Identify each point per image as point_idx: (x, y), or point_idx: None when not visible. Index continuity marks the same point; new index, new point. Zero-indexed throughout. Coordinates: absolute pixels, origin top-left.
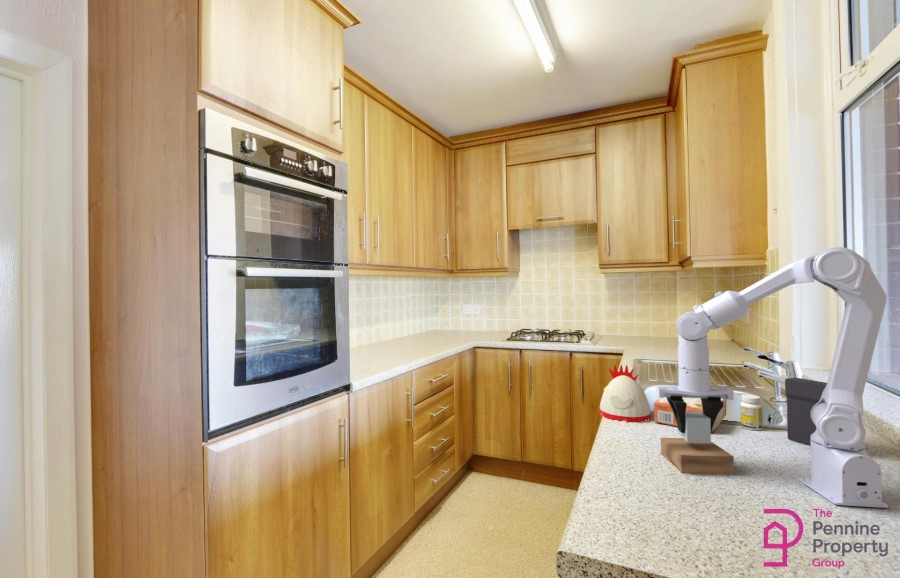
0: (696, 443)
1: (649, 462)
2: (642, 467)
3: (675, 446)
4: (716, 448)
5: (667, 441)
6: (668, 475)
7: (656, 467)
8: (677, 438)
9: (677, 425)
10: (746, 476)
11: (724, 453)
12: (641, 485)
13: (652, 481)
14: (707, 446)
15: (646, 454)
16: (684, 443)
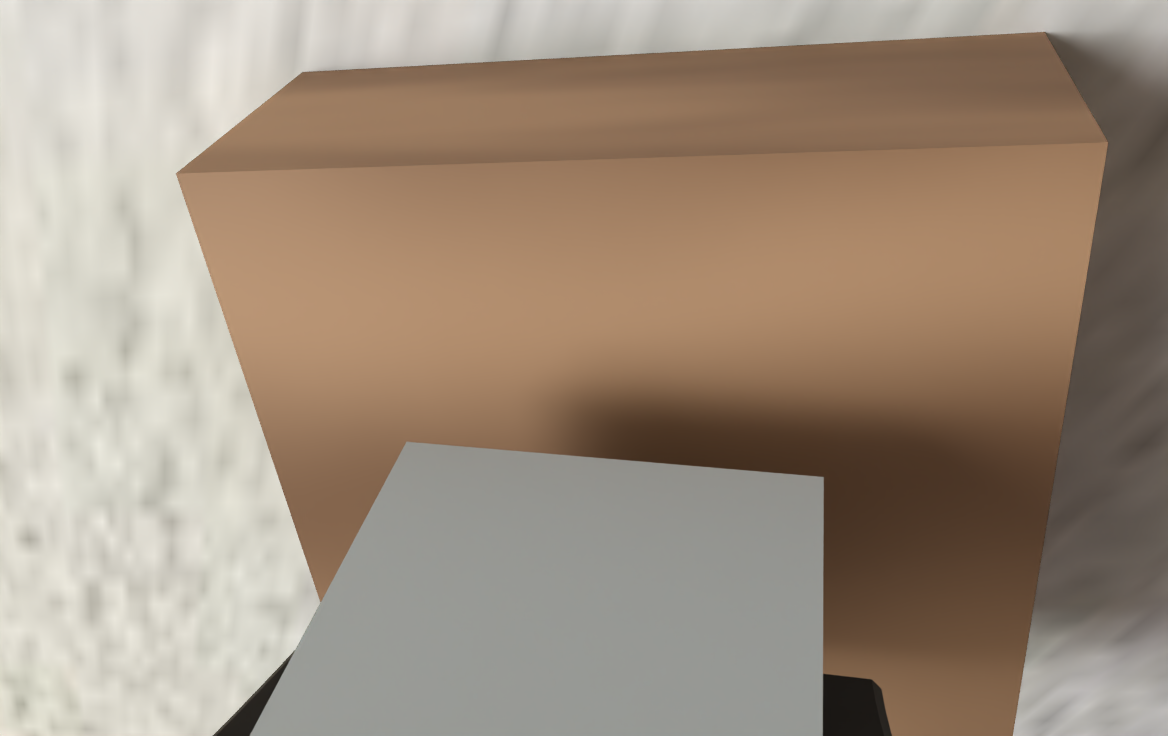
0: (722, 408)
1: (148, 357)
2: (84, 471)
3: (354, 516)
4: (946, 581)
5: (269, 342)
6: (305, 612)
7: (214, 468)
8: (469, 182)
9: (279, 672)
10: (1093, 645)
11: (943, 722)
12: (93, 733)
13: (169, 690)
14: (847, 511)
15: (111, 113)
16: (518, 412)
